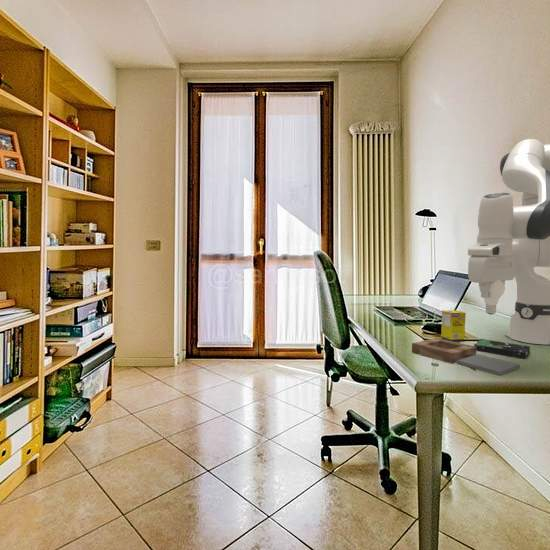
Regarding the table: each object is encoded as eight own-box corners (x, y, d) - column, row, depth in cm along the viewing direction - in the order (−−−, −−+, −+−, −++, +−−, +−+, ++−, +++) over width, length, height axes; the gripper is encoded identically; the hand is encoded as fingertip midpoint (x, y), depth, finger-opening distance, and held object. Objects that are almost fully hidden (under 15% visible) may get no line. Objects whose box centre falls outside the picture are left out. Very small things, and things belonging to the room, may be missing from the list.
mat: (477, 357, 116) (477, 354, 115) (519, 367, 106) (519, 364, 106) (457, 363, 109) (457, 360, 109) (499, 375, 99) (500, 371, 99)
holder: (436, 346, 128) (436, 337, 128) (476, 355, 117) (476, 346, 117) (411, 352, 121) (412, 343, 120) (452, 363, 109) (452, 353, 109)
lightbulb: (491, 312, 110) (493, 276, 109) (508, 316, 104) (510, 277, 103) (473, 312, 109) (475, 276, 108) (489, 316, 102) (491, 278, 102)
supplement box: (464, 341, 135) (466, 312, 135) (450, 341, 135) (451, 312, 134) (454, 337, 141) (455, 309, 141) (440, 338, 140) (441, 310, 140)
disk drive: (529, 354, 122) (479, 345, 131) (530, 346, 121) (480, 338, 131) (525, 361, 114) (473, 351, 123) (526, 352, 113) (473, 343, 123)
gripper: (499, 249, 113) (497, 293, 114) (464, 249, 102) (462, 298, 103) (522, 249, 108) (519, 295, 109) (487, 249, 97) (485, 300, 98)
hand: (491, 296), depth 106 cm, fingers closed on lightbulb, 6 cm apart
